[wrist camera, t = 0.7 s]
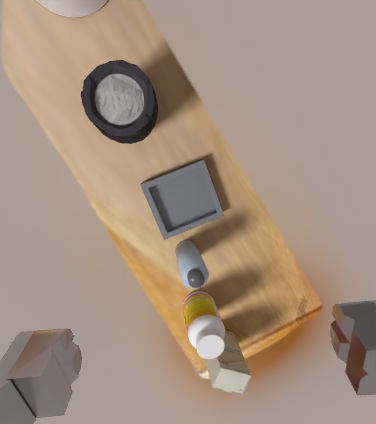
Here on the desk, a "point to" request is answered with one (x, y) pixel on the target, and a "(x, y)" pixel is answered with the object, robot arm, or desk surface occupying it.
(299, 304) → the desk surface
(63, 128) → the desk surface
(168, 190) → the box
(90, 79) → the portable speaker
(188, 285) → the blue bottle
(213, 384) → the skincare box
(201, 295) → the supplement bottle
